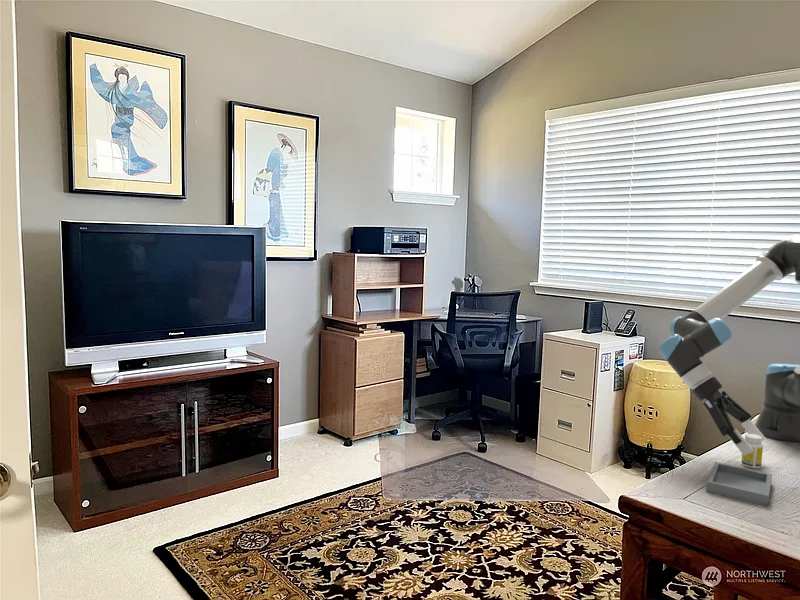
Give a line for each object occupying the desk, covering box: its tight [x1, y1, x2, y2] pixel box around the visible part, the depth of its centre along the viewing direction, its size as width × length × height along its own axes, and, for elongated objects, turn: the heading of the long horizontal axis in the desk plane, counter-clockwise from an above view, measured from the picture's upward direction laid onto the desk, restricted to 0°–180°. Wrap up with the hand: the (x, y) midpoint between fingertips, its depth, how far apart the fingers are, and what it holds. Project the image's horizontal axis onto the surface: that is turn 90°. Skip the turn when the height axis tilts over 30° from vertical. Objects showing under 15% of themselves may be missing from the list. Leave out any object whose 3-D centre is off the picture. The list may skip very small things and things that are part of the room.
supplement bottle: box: [740, 433, 764, 469], centre depth 165 cm, size 5×5×8 cm
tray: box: [706, 461, 773, 507], centre depth 150 cm, size 16×13×2 cm
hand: (755, 447), depth 164 cm, fingers open, 13 cm apart
